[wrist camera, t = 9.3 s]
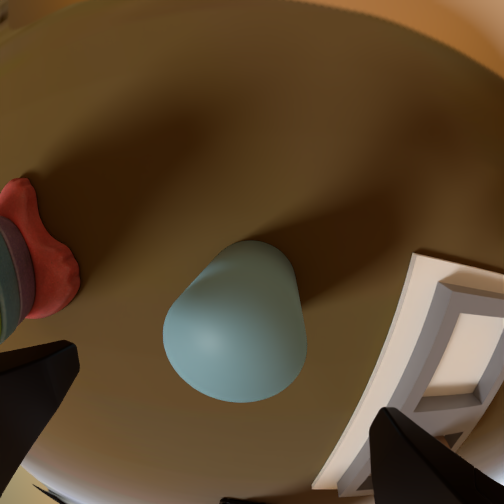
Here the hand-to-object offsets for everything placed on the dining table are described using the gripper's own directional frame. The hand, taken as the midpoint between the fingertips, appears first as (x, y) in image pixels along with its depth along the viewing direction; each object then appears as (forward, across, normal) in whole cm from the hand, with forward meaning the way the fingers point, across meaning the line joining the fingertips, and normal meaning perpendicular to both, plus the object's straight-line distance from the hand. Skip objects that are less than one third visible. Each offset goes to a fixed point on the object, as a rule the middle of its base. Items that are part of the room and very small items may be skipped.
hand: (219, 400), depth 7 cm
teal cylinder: (+10, 0, 0) cm, 10 cm away
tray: (+10, -16, +8) cm, 20 cm away
